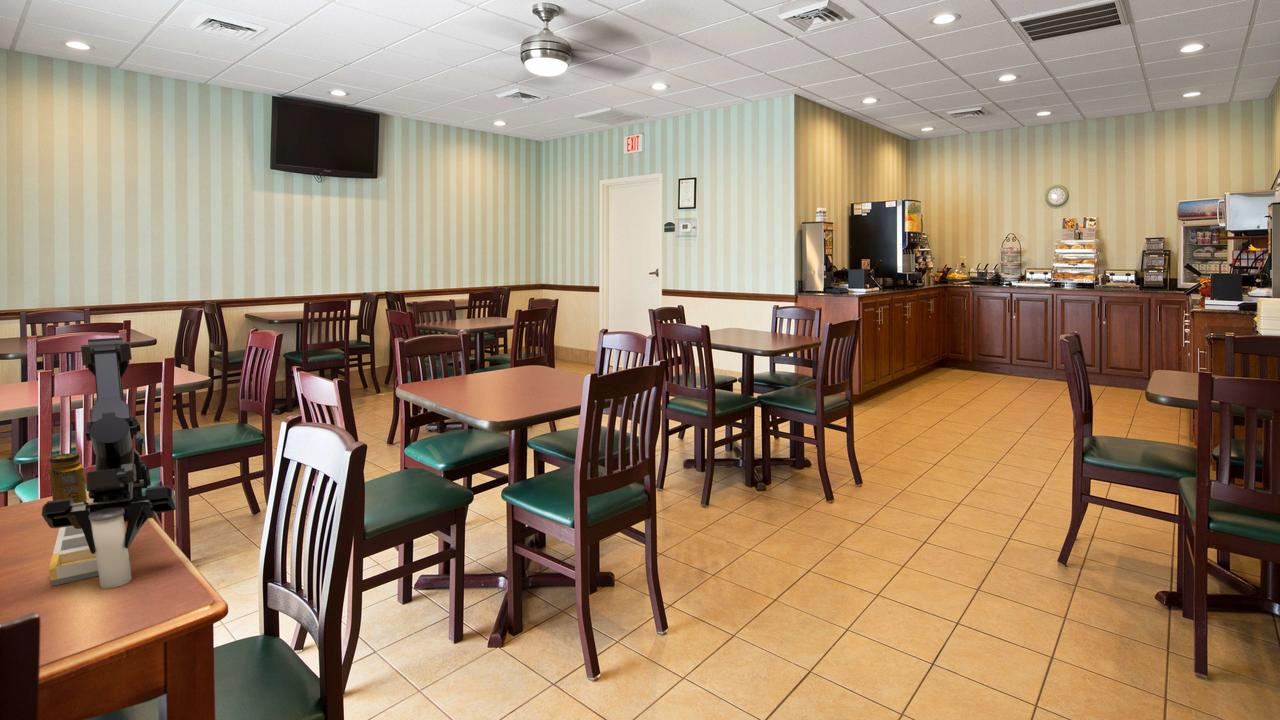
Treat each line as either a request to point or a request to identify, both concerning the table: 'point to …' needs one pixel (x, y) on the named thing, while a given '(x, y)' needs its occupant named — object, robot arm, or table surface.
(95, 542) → the post
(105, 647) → the table surface
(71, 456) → the condiment
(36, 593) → the table surface
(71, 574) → the socket bank
